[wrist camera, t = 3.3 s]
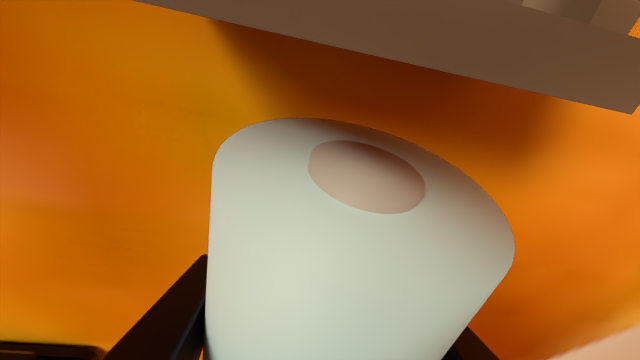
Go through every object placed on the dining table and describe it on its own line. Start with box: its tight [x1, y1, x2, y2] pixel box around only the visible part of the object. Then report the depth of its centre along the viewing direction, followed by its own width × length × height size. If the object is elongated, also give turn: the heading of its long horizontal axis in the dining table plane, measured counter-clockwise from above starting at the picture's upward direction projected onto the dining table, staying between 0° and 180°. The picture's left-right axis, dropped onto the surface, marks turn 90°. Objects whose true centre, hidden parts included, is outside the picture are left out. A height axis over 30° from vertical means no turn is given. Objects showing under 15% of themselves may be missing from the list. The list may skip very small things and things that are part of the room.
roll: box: [203, 118, 515, 360], centre depth 8 cm, size 8×5×5 cm, turn 167°
